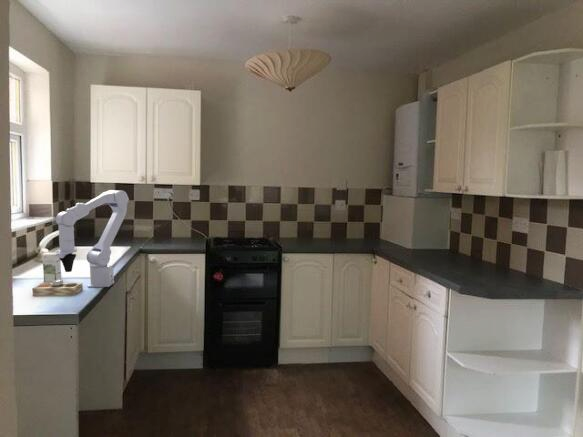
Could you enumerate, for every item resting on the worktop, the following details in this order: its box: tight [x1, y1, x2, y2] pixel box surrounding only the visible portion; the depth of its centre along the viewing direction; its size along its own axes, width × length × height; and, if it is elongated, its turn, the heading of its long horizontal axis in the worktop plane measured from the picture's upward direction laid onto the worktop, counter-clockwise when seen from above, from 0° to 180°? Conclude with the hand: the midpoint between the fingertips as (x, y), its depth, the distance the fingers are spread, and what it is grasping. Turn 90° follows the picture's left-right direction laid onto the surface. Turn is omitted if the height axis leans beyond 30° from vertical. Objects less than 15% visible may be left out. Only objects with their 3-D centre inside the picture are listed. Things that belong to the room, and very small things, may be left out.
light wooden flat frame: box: [31, 282, 84, 296], centre depth 207 cm, size 17×9×3 cm, turn 92°
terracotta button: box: [38, 282, 50, 287], centre depth 207 cm, size 4×4×2 cm
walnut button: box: [66, 282, 77, 287], centre depth 207 cm, size 4×4×2 cm
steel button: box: [52, 279, 64, 287], centre depth 207 cm, size 4×4×2 cm
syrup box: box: [41, 251, 63, 283], centre depth 221 cm, size 6×6×14 cm
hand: (68, 271), depth 208 cm, fingers closed
